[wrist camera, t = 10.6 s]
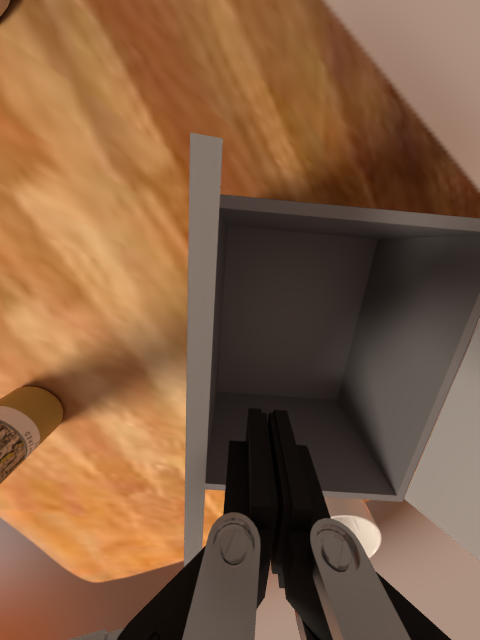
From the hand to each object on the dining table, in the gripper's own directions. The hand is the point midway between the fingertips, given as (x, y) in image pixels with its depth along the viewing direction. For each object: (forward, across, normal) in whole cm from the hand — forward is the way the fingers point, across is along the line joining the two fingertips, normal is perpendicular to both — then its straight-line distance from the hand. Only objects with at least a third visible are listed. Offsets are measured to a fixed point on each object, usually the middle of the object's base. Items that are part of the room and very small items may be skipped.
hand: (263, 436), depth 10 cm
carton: (+17, -4, 0) cm, 17 cm away
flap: (+1, +3, 0) cm, 3 cm away
